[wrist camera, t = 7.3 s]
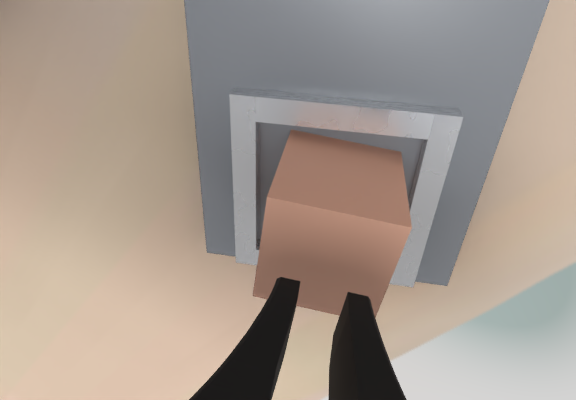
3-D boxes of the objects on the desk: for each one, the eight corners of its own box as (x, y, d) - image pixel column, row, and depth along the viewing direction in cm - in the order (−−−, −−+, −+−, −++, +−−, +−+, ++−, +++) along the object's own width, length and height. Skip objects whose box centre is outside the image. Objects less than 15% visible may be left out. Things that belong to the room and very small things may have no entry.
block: (371, 237, 19) (372, 322, 15) (276, 216, 20) (252, 296, 16) (401, 151, 17) (411, 227, 13) (291, 129, 17) (266, 197, 13)
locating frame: (411, 275, 20) (413, 287, 20) (239, 251, 21) (235, 262, 21) (459, 108, 16) (463, 116, 15) (234, 87, 16) (229, 94, 16)
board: (443, 268, 21) (447, 285, 20) (213, 237, 23) (206, 252, 22) (653, -347, 10) (683, -375, 9) (170, -339, 11) (151, -364, 10)
